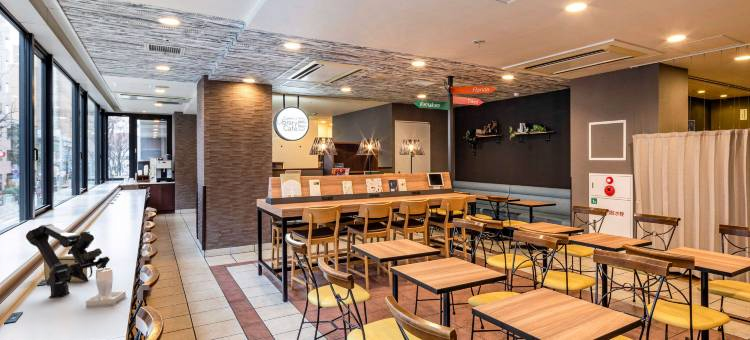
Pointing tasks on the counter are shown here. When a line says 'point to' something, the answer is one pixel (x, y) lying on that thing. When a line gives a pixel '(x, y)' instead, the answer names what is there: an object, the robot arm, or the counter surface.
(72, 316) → the counter surface
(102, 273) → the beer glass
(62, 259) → the clutch purse
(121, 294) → the tray
